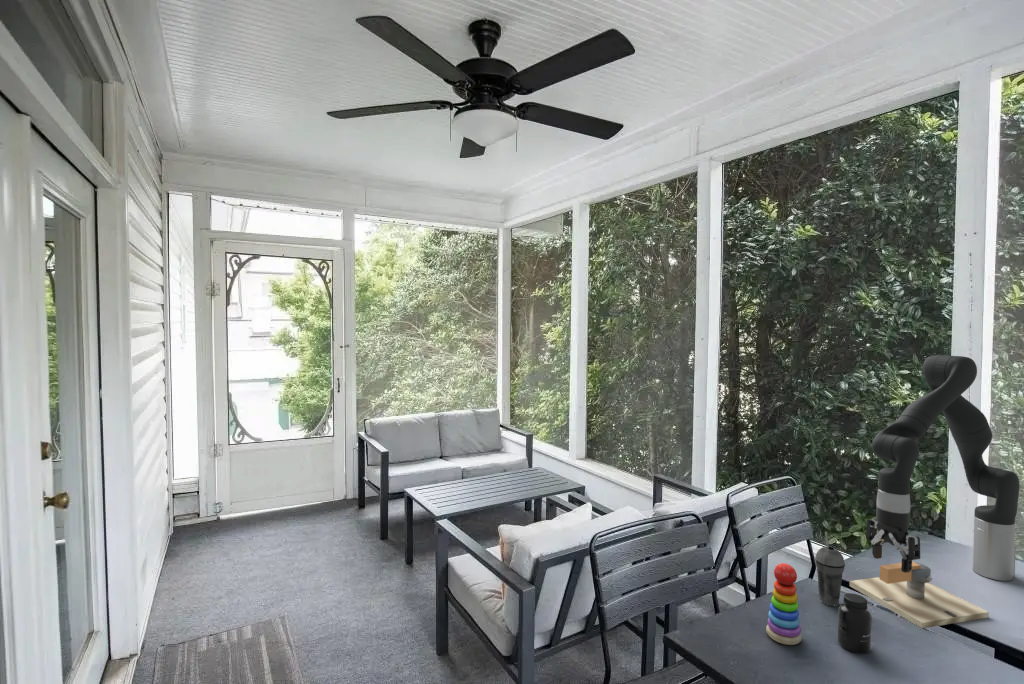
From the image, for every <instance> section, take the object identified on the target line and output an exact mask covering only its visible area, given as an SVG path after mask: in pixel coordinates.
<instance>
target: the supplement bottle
mask: <svg viewBox="0 0 1024 684" xmlns="http://www.w3.org/2000/svg"><path fill="white" fill-rule="evenodd" d="M842 602H843V603H842V604H839V607H838V612H837V613H838V614H837V615H838V616H837V642H838V644H839V645H840V646H841V647H842V648H843V649H845V650H847V651H849V652H852V653H855V654H861V655H864V654H868V653H869V652H870V651H871V649H872V627H873V626H872V625H873V624H872V623H873V618H872V614H871V612H870V611H869V610H868V600H867V599H866V597H864V596H862V595H860V594H857V593H853V592H847V593H844V595H843V599H842Z"/></svg>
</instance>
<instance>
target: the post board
mask: <svg viewBox="0 0 1024 684" xmlns="http://www.w3.org/2000/svg"><path fill="white" fill-rule="evenodd" d="M849 587H850V588H852V589H854V590H855V591H857V592H859V593H861V594H863V595H864V596H866V597H868V599H871V600H872V601H875V602H876V603H878V604H879V605H881V606H883V607H885V608H886V609H888V610H890V611H891V612H893V613H895V614H897V615H898V616H900V617H901V618H903V619H905V620H906V621H908V622H910V623H912V624H914V625H915V626H917V627H919V628H920V629H927V628H933V627H940V626H946V625H950V624H957V623H964V622H969V621H976V620H982V619H987V618H988V619H989V617H990V611H988V610H986V609H984V608H982V607H980V606H978V605H976V604H974V603H972V602H970V601H967V600H966V599H963V598H961V597H959V596H958V595H956V594H953V593H952V592H949V591H948V590H946V589H943V588H941V587H940V586H937V585H935V584H933V583H931V582H929V583H919V582H915V581H904V582H897V583H890V584H887V583H885V582H883V581H882V580H880V576H877V577H869V578H864V579H855V580H849Z"/></svg>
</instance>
